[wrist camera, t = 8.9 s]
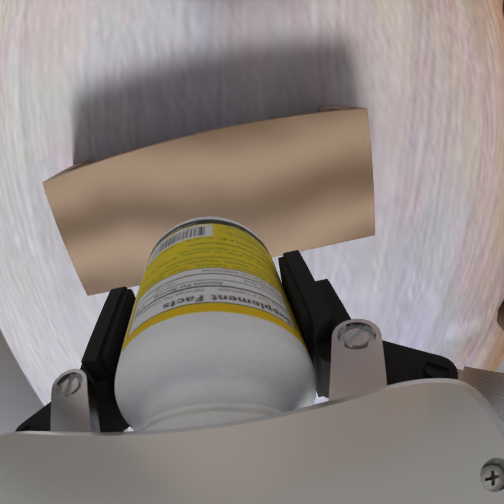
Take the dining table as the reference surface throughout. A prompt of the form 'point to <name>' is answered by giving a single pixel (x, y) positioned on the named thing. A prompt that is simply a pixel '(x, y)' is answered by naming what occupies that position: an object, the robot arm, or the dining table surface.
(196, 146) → the wooden shelf
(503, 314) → the beer bottle
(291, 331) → the supplement bottle
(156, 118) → the dining table surface
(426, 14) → the dining table surface
